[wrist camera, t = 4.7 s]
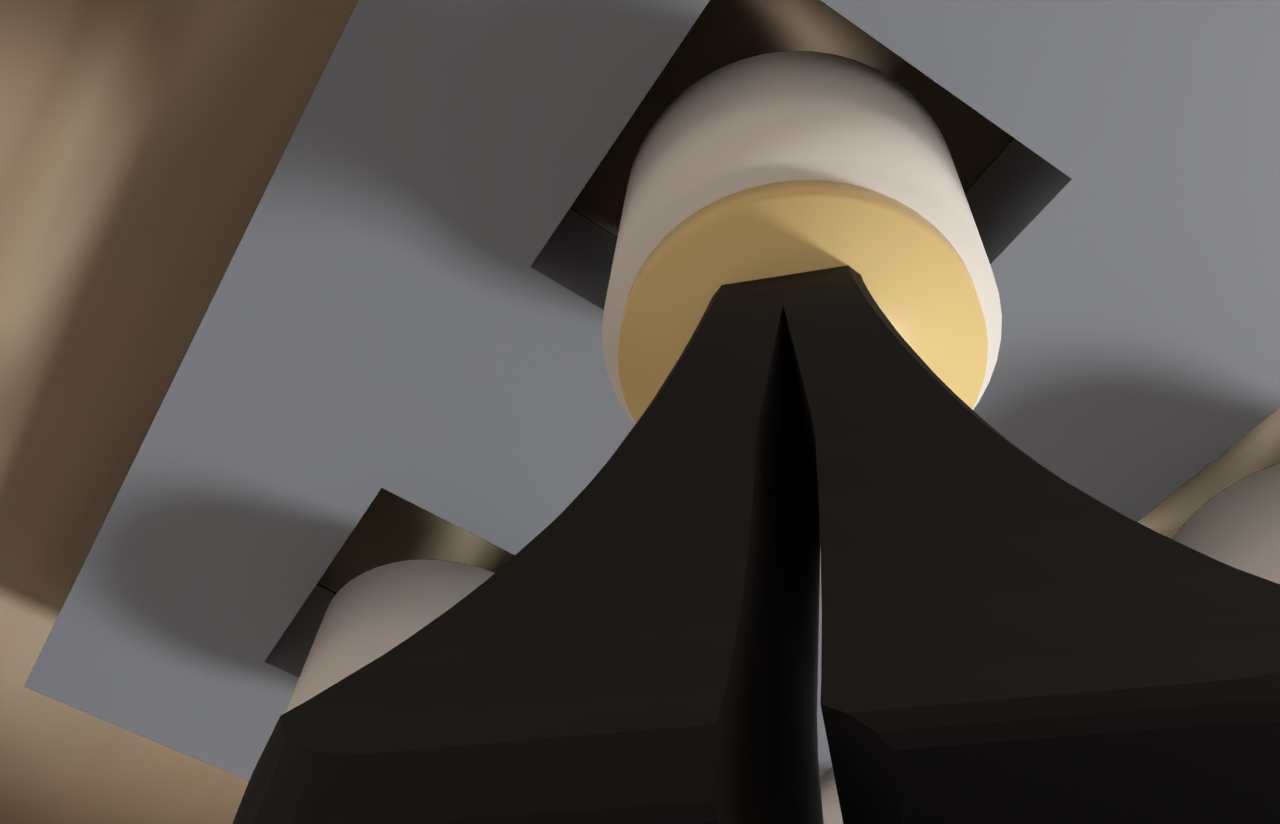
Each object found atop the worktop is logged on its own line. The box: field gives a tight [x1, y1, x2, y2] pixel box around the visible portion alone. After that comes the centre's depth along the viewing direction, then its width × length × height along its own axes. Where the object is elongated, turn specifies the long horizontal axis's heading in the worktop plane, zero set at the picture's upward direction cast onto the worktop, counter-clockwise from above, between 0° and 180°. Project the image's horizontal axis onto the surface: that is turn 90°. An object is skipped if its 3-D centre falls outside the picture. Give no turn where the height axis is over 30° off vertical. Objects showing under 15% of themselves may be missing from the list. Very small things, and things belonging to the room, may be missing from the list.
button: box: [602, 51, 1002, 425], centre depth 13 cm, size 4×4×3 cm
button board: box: [24, 0, 1280, 781], centre depth 18 cm, size 20×20×2 cm
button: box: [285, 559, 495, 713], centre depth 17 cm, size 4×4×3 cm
